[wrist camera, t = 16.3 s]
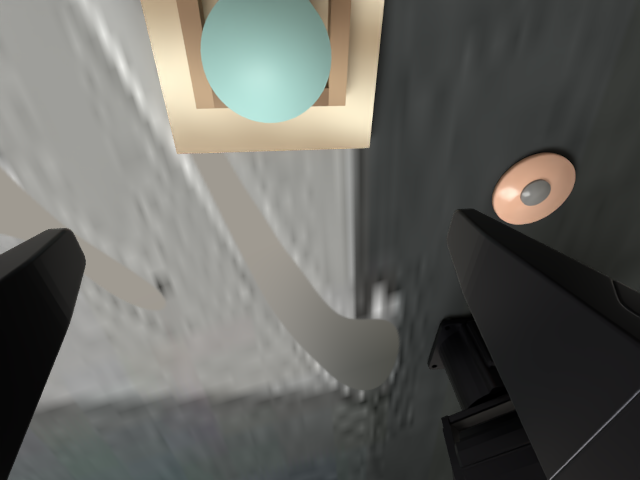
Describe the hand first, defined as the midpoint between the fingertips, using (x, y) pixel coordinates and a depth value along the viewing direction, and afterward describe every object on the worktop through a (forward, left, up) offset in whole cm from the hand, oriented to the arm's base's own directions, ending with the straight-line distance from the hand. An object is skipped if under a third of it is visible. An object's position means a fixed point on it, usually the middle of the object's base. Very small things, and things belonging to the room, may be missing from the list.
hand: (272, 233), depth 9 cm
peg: (+3, 0, -11) cm, 12 cm away
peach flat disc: (-7, -16, -12) cm, 21 cm away
